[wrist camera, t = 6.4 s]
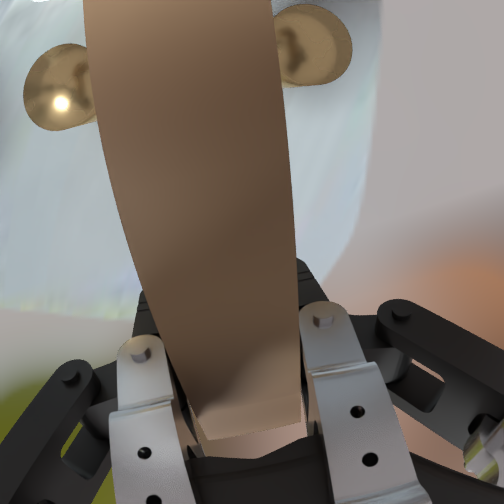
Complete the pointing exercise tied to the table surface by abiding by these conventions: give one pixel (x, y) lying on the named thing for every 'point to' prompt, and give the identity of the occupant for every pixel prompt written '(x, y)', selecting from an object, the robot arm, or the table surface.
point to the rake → (205, 196)
